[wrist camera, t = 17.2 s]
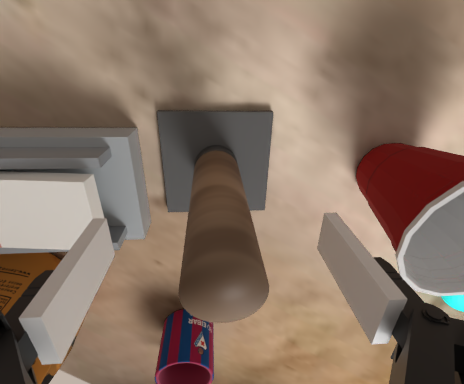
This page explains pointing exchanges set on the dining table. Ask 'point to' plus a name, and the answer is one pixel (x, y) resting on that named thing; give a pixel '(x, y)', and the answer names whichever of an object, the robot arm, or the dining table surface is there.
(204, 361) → the cup
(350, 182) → the dining table surface
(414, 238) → the plastic cup
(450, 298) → the donuts
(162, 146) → the mat
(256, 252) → the wooden pestle
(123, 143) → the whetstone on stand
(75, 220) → the rocker
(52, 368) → the coffee package
